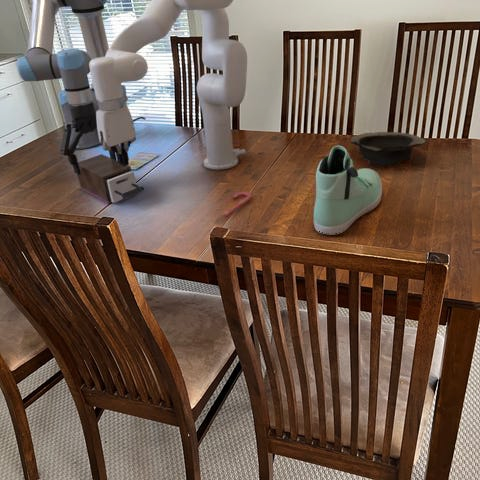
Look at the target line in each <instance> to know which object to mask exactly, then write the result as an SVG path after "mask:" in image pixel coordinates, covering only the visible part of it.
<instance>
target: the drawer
mask: <svg viewBox="0 0 480 480" xmlns="http://www.w3.org/2000/svg"><path fill="white" fill-rule="evenodd" d="M106 183H107V188H108V192H109V196H110V198H111V201H112V202H113V203H114V204H115V203H117V202H120V201H122V200H126V199H128V198H129V197H133V196H135V195H137V194H140V193H142V192H144V191H145V190H146V189H145V186H143V185H138V184H137V181H136V177H135V171H133V170H131V171H130V172H127V171H125V172H122V173H120V174H117V175H114V176H112V177H109V178H106ZM113 203H112V204H113Z"/></svg>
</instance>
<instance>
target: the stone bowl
mask: <svg viewBox="0 0 480 480" xmlns="http://www.w3.org/2000/svg"><path fill="white" fill-rule="evenodd" d="M425 143H426V140H425V139H424V138H422V137H420V136H418V135H415V134H411V133H408V132H406V133H405V132H397V131H396V132H394V131H376V132H375V131H374V132H364V133H360V134H357V135H353V136H352V137H351V138H350V144H351V145H355V146H357V147H358V151H359V153H360V155H361V156H362V157H363V159H365V160H367V161H368V162H369V166H370V167H372V168H380V169H381V168H382V169H383V168H384V169H386V168H388V167H390V168H394V167H397V166H399V165H400V163H401V162H403V163H404V162H410V161H411V159H412V153H413V148H416V147H419V146H422V145H423V144H425Z"/></svg>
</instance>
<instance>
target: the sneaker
mask: <svg viewBox="0 0 480 480" xmlns="http://www.w3.org/2000/svg"><path fill="white" fill-rule="evenodd" d="M317 165H318V166H317V168H316V172H315V201H314V207H313V225H314V229H315V231H316V232H318V233H320V234H323V235H326V236H327V235H328V236H336V235H339V234H342V233H344V232H345V231H347V230H348V229H349V228H350V227H351V226H352V225H353V224H354V222H356V221H357V220H358V219H359V218H360V217H362V216H363V215H365V214H367V213H370V212H372V210H374V209H375V208H377V207H378V205H380V203H381V200H382V196H383V184H382V183H383V182H382V179H381V176H380V175H379V173H378V172H377V171H376V170H374V169H372V168H367V167H365V168H358V169H357V168H355V167H354V161H353V159H352V158H351V156H350V153H349V152H348V150H347V148H345V147H344V146H342V145H334V146H333V147H331V149H330V151H329V154H327V155H326V156H325V157H324V158H322V159H321V160H320V161H319V163H318V164H317ZM343 230H344V231H343ZM319 231H320V232H319ZM322 232H323V233H322ZM339 232H340V233H339ZM326 233H327V234H326ZM328 233H329V234H328ZM335 233H337V234H335Z"/></svg>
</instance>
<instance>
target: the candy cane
mask: <svg viewBox="0 0 480 480" xmlns="http://www.w3.org/2000/svg"><path fill="white" fill-rule="evenodd" d="M240 197H245V198H243V199H242V200H240V201H238V203H236V204H235V205H234V206H232V207H231V208H229V209H228V210H226V211H225V212H224V213H223V216H224V217H225V218H226V217H229V216H230V215H232V214H233V213H235V212H236V211H237V210H239V209H240V208H241V207H243V206H245V205H246V204H248V203H249V202H250V201H252V198H253V195H252V194H251V193H250V192H247V191H238V192H235V193H234V194H233V195H232V200H236V199H238V198H240Z"/></svg>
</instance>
